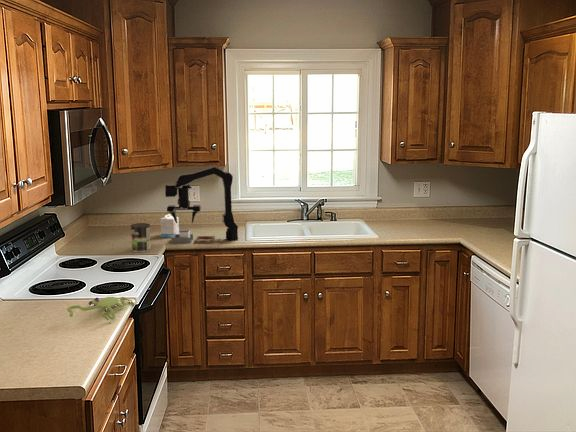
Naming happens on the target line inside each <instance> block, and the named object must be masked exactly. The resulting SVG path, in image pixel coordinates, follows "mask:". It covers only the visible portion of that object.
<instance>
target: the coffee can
mask: <svg viewBox="0 0 576 432" xmlns="http://www.w3.org/2000/svg"><path fill="white" fill-rule="evenodd" d="M130 231H131V235H130V237H131V251H132V252H134V253H145V251H147V252H150V251H151V250H152V249H151V248H152V247H151V223H146V222H141V223H140V222H137V223H132V224H131V225H130ZM149 250H150V251H149Z"/></svg>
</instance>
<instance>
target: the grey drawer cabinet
mask: <svg viewBox="0 0 576 432" xmlns="http://www.w3.org/2000/svg"><path fill="white" fill-rule="evenodd" d="M170 239H171V244H191V243H192V242H193V241H194V234H193V233H190V237H184V238H180V234H174V235H173V236H172V238H170Z"/></svg>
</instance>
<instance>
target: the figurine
mask: <svg viewBox="0 0 576 432" xmlns="http://www.w3.org/2000/svg"><path fill="white" fill-rule="evenodd" d="M125 300H128V301H131V303H129V304H130V305H131V306H133V307H134V306H135V302H133V300H131V299H129V298H127V297H125V296H121V297H119V298H118V297H116V296H106V297H103V298H101V299H99V298H98V297H96V298H94V299H92V300H91V301H89V302H88V303H87V304H88V307H87V306H86V307H83V306H82V305H80V304H75V305H71V306H68V307H67V308H66V310H67V312H68V313H69V317H71V318H72V317H73V316H74V311H73V309H74V310H75V309H79V310H81V311H91V310H95V309H106V308H107V309H108V311H109V312H110V313H111V315H110V313H109V312H108V311H107V312H105V310H103V311H102V312H101V313H100V314H101V316H102V317H103V318H104V319H105V320H106V321H108V320H112V319H114V318H115V319H116V314H115V311H114V309H113V308H112V307H115V305H117V306H116V307H119V308H121V307H124V306H126V303H125V302H126V301H125ZM120 302H121V303H120ZM91 304H94V305H95V306H91V307H90V305H91ZM122 304H123V305H122ZM124 308H125V307H124ZM115 319H114V320H115Z"/></svg>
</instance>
